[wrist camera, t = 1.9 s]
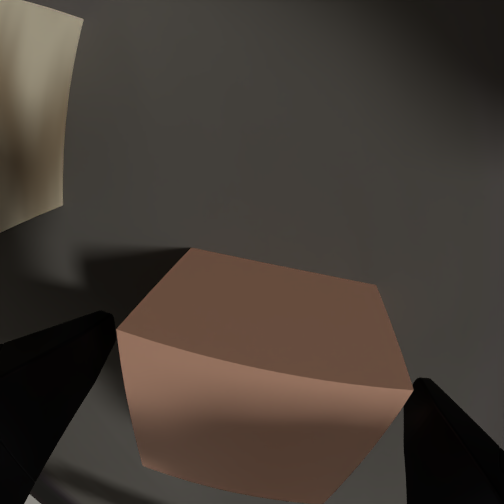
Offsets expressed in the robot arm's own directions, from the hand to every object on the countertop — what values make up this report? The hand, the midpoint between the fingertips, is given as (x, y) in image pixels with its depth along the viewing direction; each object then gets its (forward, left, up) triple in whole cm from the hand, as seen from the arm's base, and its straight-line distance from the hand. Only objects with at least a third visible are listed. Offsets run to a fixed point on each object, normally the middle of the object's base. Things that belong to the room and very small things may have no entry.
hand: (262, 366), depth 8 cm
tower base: (+6, +10, -1) cm, 12 cm away
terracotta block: (0, 0, -1) cm, 1 cm away
